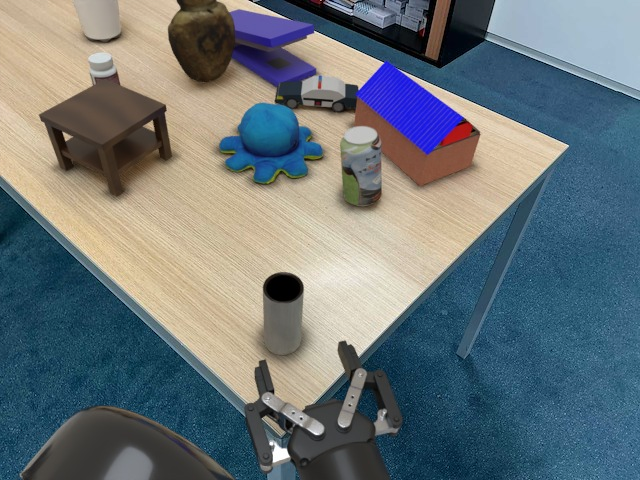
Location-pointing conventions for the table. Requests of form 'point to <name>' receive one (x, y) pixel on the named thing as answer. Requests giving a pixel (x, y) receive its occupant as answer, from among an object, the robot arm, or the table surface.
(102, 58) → the pill bottle
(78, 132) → the plant stand
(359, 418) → the robot arm
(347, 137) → the beverage can
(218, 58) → the sculpture
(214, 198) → the table surface
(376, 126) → the house
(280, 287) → the planter
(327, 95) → the toy car
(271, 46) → the stapler
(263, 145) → the plush toy
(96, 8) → the cup
